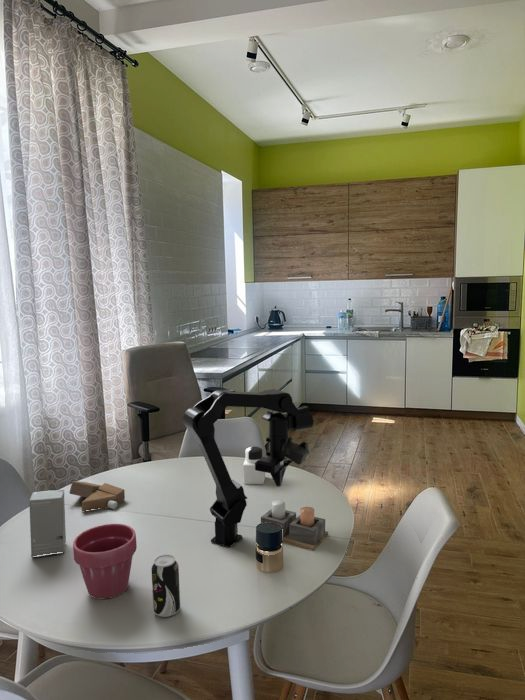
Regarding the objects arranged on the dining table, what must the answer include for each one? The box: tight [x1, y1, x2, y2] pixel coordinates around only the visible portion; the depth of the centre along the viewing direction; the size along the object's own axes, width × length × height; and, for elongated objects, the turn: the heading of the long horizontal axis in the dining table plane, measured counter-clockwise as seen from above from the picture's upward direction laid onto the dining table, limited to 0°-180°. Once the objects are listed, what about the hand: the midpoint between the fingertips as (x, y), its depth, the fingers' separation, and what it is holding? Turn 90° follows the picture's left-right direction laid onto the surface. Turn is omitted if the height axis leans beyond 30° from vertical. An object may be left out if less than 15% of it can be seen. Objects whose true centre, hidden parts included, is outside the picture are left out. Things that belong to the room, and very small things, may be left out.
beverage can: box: [151, 554, 181, 618], centre depth 113 cm, size 6×6×12 cm
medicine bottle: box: [242, 446, 266, 485], centre depth 185 cm, size 7×7×12 cm
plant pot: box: [72, 523, 137, 600], centre depth 122 cm, size 14×14×13 cm
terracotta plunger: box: [299, 506, 315, 528], centre depth 143 cm, size 4×4×5 cm
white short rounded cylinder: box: [271, 500, 286, 520], centre depth 147 cm, size 4×4×5 cm
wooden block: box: [69, 480, 126, 512], centre depth 169 cm, size 8×13×18 cm
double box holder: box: [260, 508, 329, 552], centre depth 146 cm, size 10×17×5 cm, turn 60°
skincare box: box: [28, 489, 67, 557], centre depth 139 cm, size 8×7×16 cm
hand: (278, 486), depth 151 cm, fingers closed
